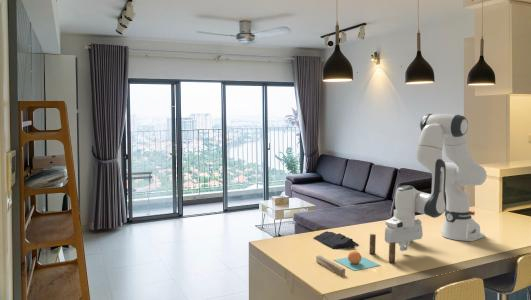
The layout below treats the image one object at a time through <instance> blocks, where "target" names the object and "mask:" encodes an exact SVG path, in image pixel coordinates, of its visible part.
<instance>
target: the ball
mask: <svg viewBox="0 0 531 300" xmlns="http://www.w3.org/2000/svg"><path fill="white" fill-rule="evenodd" d="M361 256H362V255H361V254H360V252H359V251H357V250H352V251H350V252H349V253H348V255H347V257H348V260H349V261H350V262H351V263H352V264H358V263H359V262H360V261H361Z"/></svg>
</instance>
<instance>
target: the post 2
mask: <svg viewBox="0 0 531 300" xmlns="http://www.w3.org/2000/svg"><path fill="white" fill-rule="evenodd" d="M396 244H397V243H396V242H393V241H391V242H389V243H388V263H389V264H392V265H394V264H396Z"/></svg>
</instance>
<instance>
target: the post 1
mask: <svg viewBox="0 0 531 300" xmlns="http://www.w3.org/2000/svg"><path fill="white" fill-rule="evenodd" d="M376 238H377V236H376V234H375V233H370V234H369V255H373V256H374V255H376V243H377V241H376Z"/></svg>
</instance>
